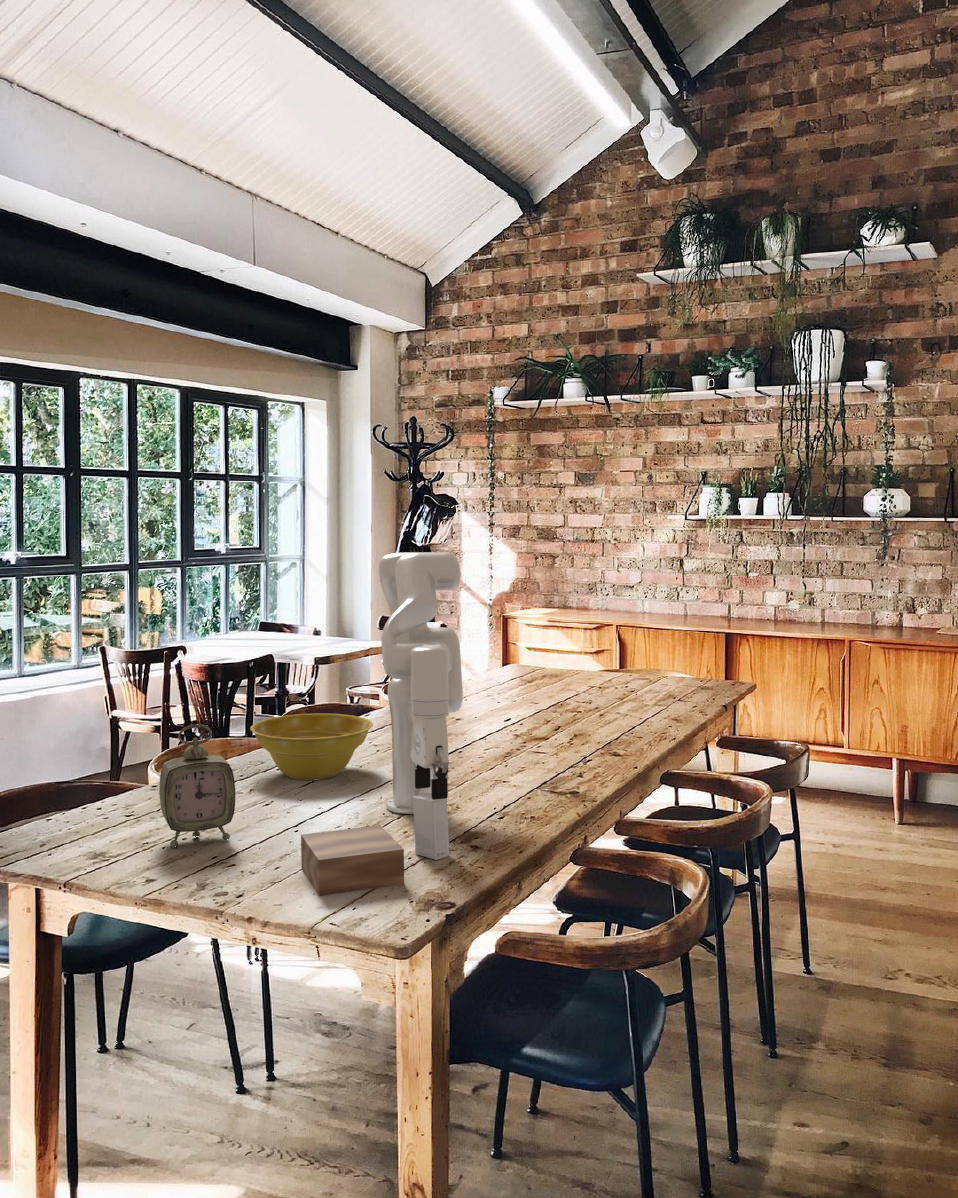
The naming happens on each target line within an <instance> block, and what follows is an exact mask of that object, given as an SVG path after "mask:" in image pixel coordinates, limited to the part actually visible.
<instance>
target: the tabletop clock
mask: <svg viewBox="0 0 958 1198" xmlns="http://www.w3.org/2000/svg"><path fill="white" fill-rule="evenodd" d="M198 728H201V729H206V730H207V731H208V732H209V736H208V737H207V738H204V739H202V740H199V738H198V737H193V738H192V741H187V740H184V739H182V738H181V737H182V736H181V735H182V734H183V733H184V732H185V731H187V730H189V729H198ZM212 736H213V732H212V730H211V728H210V727H209V726H207V725H205V724H190V725H187V726H185V727H183V728H182V729H181V730H180V731H179V733H178V736H177V738H178V740H179V741H180V743H182V744H184V745H188V747H187V748H186V749H185V750H184V752H183V755H182V757H176V758H172V759H170V760H168V761H165V762H164V763H163V764H162V767H161V770H160V775H159V790H158V791H159V792H158V793H159V802H160V809H161V813H162V816H163V818H164V820H165V822H166V824H167V826H168V827H169V829H170V830H171V831H174V832H175V835H174V838H173V839H172V840H171V841H170V843H169V845H170V847H171V848H172V847H175V846H177V845H179V841H178V839H179V836H180V834H181V833H186V832H190V833H192V836H191V837H193V836H195V837H196V836H199V837H200V836H201V832H203V831H207V830H212V829H217V828H218V829H219V831H220V832H221V834H222V836H221V838H222V840H223V839H224V841H225V840H226V841H228V840H230V837H231V834H230V833H228V832H225V829H224V827H223V826H226V825H228V824H230V823H231V822H232V820H233V818H234V814H235V810H236V809H235V808H236V795H237V793H236V783H235V775H234V772H233V769H232V766H231V764H229V762H228V761H227V760H226V759H225V758H224V757H223V756H220V755H216V754H209V753H208V751H207V750H206V748H205V747H204V746H202V745H203V744H205V743H207V742H208V741H209V740H210V739H212V738H213V737H212ZM201 744H202V745H201ZM227 839H228V840H227ZM175 848H176V847H175Z"/></svg>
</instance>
